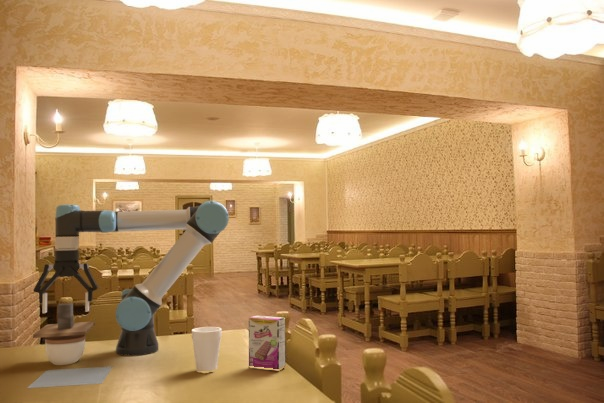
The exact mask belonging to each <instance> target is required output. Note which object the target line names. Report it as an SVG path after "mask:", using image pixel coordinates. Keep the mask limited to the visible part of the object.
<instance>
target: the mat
mask: <svg viewBox="0 0 604 403" xmlns="http://www.w3.org/2000/svg"><path fill="white" fill-rule="evenodd" d="M113 368H114V366H100V367H99V366H98V367H97V366H96V367H82V368H81V367H79V368H64V369H63V368H62V369H61V368H60V369H46V371H44V372H43V373H42V374H40V376H39V377H38V378H37V379H36V380H34V381H33V382H31V384H29V385H28V387H27V389H36V388H37V389H38V388H54V387H68V386H83V385H84V386H85V385H86V386H87V385H100V384H103V383H104V381H105V380H106V378H107V376H108V375H109V374H110V372H111V370H112V369H113Z"/></svg>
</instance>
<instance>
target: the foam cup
mask: <svg viewBox="0 0 604 403" xmlns="http://www.w3.org/2000/svg"><path fill="white" fill-rule="evenodd" d="M222 332H223V330H222V327H219V326H218V327H217V326H202V327H196V328H192V329H191V339H192V344H193V345H192V346H193V353H194V361H195V368H196V369H195V370H196V372H197V371H212V370H215V369H217V370H218V363H219V355H220V348H221V340H222V335H223V333H222Z"/></svg>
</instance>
